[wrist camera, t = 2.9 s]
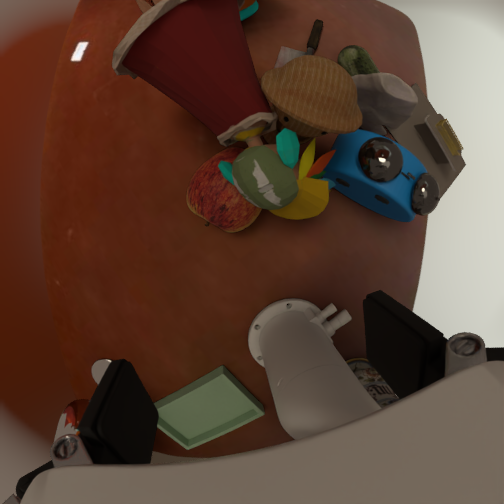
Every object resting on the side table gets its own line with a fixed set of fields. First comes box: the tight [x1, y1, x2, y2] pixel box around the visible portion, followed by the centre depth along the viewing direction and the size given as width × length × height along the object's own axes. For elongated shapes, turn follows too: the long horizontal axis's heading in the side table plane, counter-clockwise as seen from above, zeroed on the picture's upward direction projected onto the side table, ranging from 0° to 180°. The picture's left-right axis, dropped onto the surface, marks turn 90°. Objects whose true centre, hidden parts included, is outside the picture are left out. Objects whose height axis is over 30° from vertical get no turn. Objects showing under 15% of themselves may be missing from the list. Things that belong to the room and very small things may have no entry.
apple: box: [187, 147, 262, 232], centre depth 34 cm, size 9×9×10 cm
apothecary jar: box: [345, 358, 400, 408], centre depth 38 cm, size 12×12×18 cm
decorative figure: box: [112, 0, 336, 220], centre depth 22 cm, size 13×14×30 cm
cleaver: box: [274, 19, 323, 69], centre depth 34 cm, size 16×1×5 cm
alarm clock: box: [323, 129, 440, 222], centre depth 32 cm, size 13×6×15 cm, turn 63°
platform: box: [386, 83, 466, 198], centre depth 36 cm, size 12×18×7 cm, turn 43°
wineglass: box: [54, 359, 112, 442], centre depth 32 cm, size 8×8×20 cm
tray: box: [154, 365, 265, 450], centre depth 43 cm, size 18×12×2 cm, turn 124°
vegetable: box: [338, 45, 380, 77], centre depth 34 cm, size 14×5×5 cm
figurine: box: [261, 55, 363, 144], centre depth 27 cm, size 9×7×20 cm
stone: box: [352, 73, 418, 136], centre depth 30 cm, size 11×3×15 cm, turn 55°
